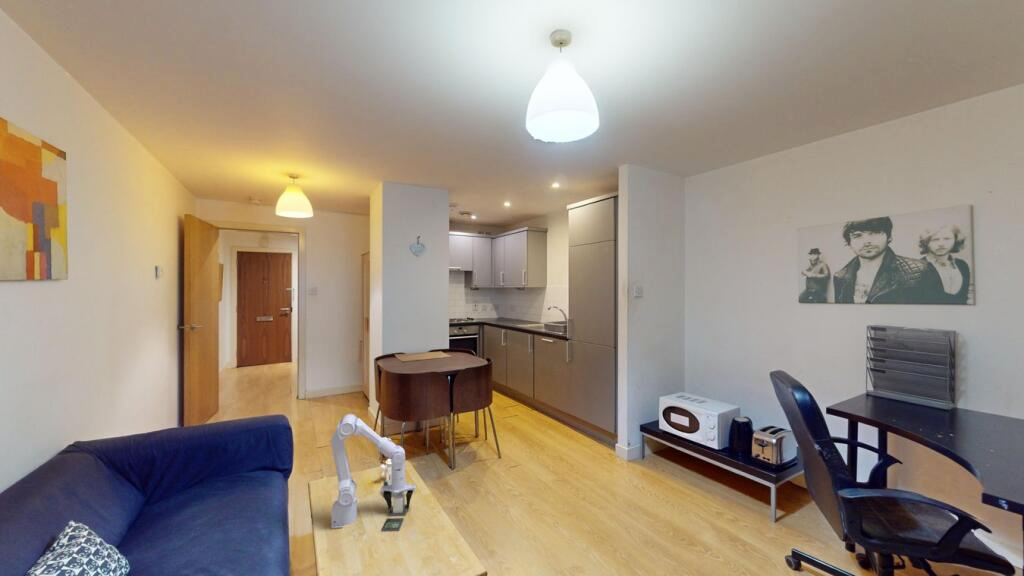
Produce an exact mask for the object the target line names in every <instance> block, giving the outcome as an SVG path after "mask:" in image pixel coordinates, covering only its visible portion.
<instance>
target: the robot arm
mask: <svg viewBox="0 0 1024 576" xmlns="http://www.w3.org/2000/svg"><path fill="white" fill-rule="evenodd" d="M352 435H353V437H354V436H363V438H364V437H365V439H367V440H368V441H370V442H371V443H373V444H374V445H375V446H376V450H377V451H378V452H380V453H381V454H383V455H384V456H385V457H386V458H388V459H391V463H392V467H391V471H392V485H388V486H383V485H382V487H381V489H380V490H381V491H380V493H383V494H382V496H383V499H384V500H385V501H386V504H387V507H388V510H391V508H392V506H393V500H392V497H391V495H392V492H394V493H399V492H402V491H404V492H406V494H405V501H406V504H407V506H406V507H407V509H408V510H409V508H410V505H411V504H410V503H411V499H412V496H413V494H414V493H416V491H417V485H416V484H415V485H414V484H408V483H406V451H405V449H404V448H403V446H401V445H398V444H395V443H394V442H393V441H392V439H391V438H390V437H388V438H387V437H386V436H384V437H381V436H380V435H379V434H378V433H377V432H375V431H374V430H373V429H372V428H371V427H370V426H368V424H366V423H365V422H364V421H363V420H362V419H361V418H359V417H357V416H356V415H355V414H353V413H348V414H346V415H344V416H343V417H341V419H340V420H339V422H338V424H337V427H336V429H335V430H334V432H333V435H332V437H331V439H330V446H331V451H332V456H333V461H334V466H335V470H336V476H337V481H338V487H337V488H338V496H337V500H335V501H333V503H332V506H331V510H330V511H331V517H330V518H331V526H330V529H341V528H344V527H345V526H347V525H351V524H353V523H355V522H356V521H357V519H358V502H357V501H358V498H357V496H356V494H355V493H356V490H357V486H358V485H357V483H356V482H355V480H354V478H353V476H352V475H351V470H350V469H351V468H350V464H349V460H348V455H347V450H346V445H345V441H346V439H347V438H349V437H350V436H352Z"/></svg>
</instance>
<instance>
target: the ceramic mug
mask: <svg viewBox="0 0 1024 576" xmlns="http://www.w3.org/2000/svg"><path fill="white" fill-rule="evenodd" d="M388 485H392V479H390V478H389V480H386V479H385V480H384V481H383V485H382V486H388ZM404 492H405V491H402V494H404ZM395 494H397V493H394V492H392V495H391V498H392V497H394V496H395Z"/></svg>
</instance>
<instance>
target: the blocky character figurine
mask: <svg viewBox="0 0 1024 576" xmlns="http://www.w3.org/2000/svg"><path fill="white" fill-rule="evenodd" d="M391 467H392V463H391V459H390V458H388V459H386V461H385V464H383V463H382V464H380V466H379V470H380V471H381V470H382V471H381V477H382V478H383V477H384V476H385V481H386V480H390V479H392V471H391Z"/></svg>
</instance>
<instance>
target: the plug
mask: <svg viewBox="0 0 1024 576" xmlns="http://www.w3.org/2000/svg"><path fill="white" fill-rule="evenodd" d="M405 504H406V494H405V493H402V492H399V493H397V494H395V496H393V498H392V506H393V512H392V513H403V512H404V509H405Z"/></svg>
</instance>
